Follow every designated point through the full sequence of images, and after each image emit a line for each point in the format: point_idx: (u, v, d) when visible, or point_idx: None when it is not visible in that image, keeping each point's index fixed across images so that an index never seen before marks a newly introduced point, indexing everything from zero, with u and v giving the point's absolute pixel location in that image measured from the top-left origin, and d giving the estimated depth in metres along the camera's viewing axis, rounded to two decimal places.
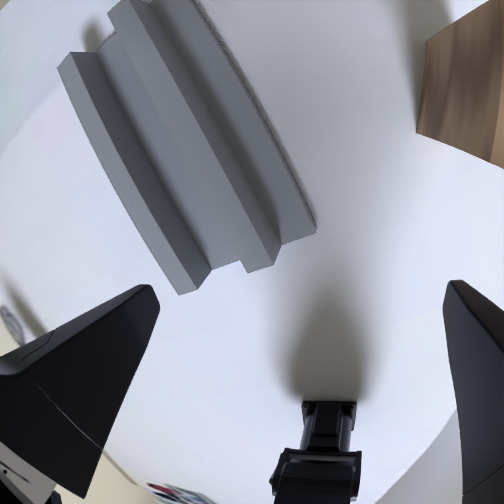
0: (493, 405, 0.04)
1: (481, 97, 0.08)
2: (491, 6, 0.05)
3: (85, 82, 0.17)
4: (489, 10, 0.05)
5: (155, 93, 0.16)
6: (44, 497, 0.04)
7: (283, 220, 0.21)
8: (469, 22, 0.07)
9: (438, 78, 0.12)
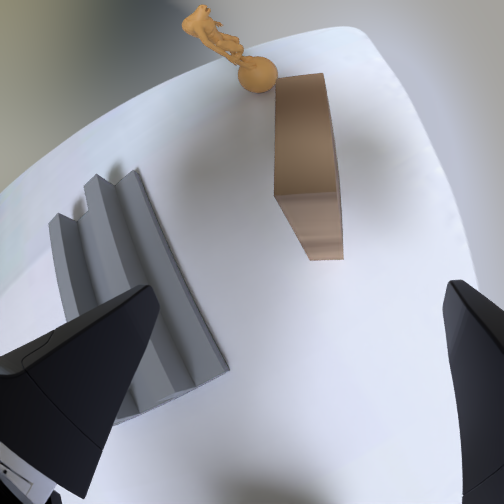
0: (493, 405, 0.04)
1: None
2: None
3: (63, 237, 0.26)
4: None
5: (101, 248, 0.24)
6: (44, 497, 0.04)
7: (195, 362, 0.22)
8: None
9: None
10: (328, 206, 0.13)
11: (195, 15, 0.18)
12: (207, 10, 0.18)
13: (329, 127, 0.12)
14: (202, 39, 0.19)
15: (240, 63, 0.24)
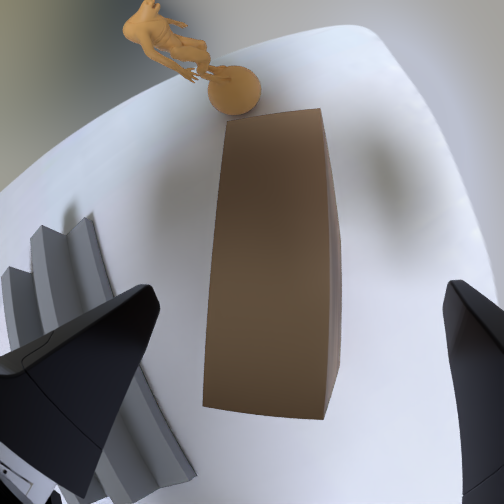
0: (493, 405, 0.04)
1: None
2: None
3: (13, 298, 0.20)
4: None
5: (45, 325, 0.17)
6: (44, 497, 0.04)
7: (157, 465, 0.15)
8: None
9: None
10: None
11: (138, 15, 0.12)
12: (155, 6, 0.12)
13: (327, 255, 0.06)
14: (144, 48, 0.13)
15: (207, 77, 0.17)
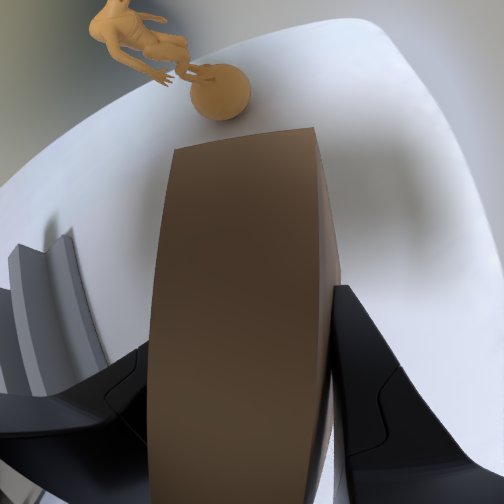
0: (337, 420, 0.05)
1: None
2: None
3: None
4: None
5: (23, 353, 0.15)
6: None
7: None
8: None
9: None
10: None
11: (105, 10, 0.09)
12: None
13: (311, 390, 0.03)
14: (109, 49, 0.10)
15: (188, 78, 0.15)
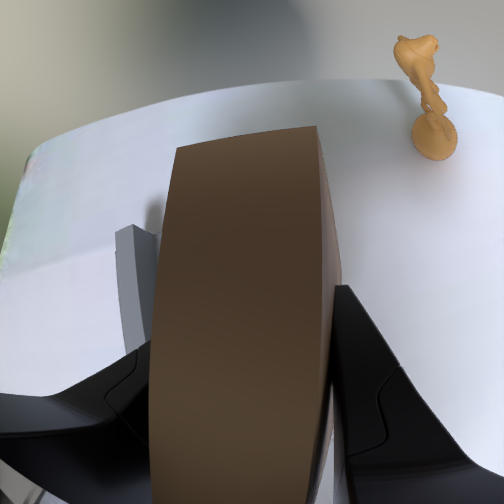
0: (337, 420, 0.05)
1: None
2: None
3: (137, 264, 0.22)
4: None
5: None
6: None
7: None
8: None
9: None
10: None
11: (421, 46, 0.11)
12: (435, 46, 0.11)
13: (314, 388, 0.03)
14: (426, 90, 0.12)
15: (431, 123, 0.17)
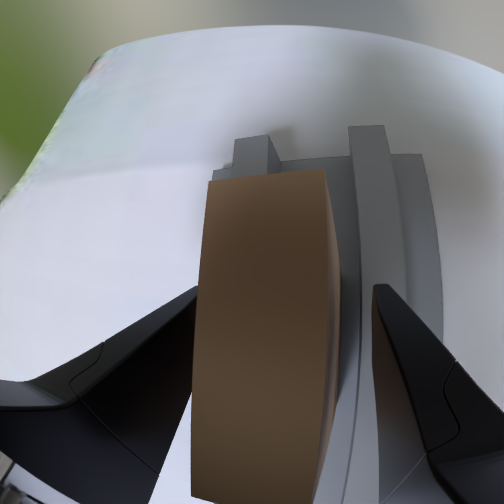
0: (393, 419, 0.04)
1: None
2: None
3: None
4: None
5: (371, 285, 0.12)
6: None
7: None
8: None
9: None
10: None
11: None
12: None
13: (322, 371, 0.05)
14: None
15: None
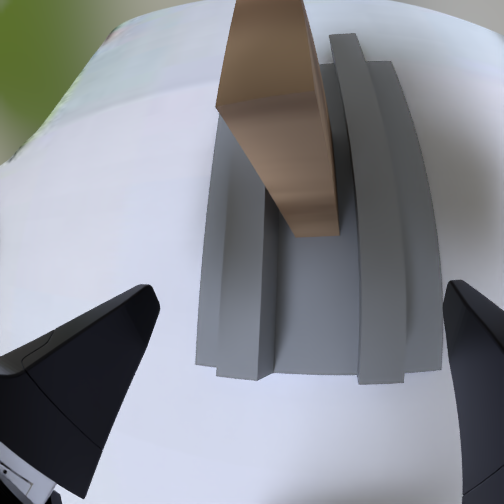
0: (493, 405, 0.04)
1: None
2: None
3: None
4: None
5: (353, 115, 0.15)
6: (44, 497, 0.04)
7: (411, 341, 0.14)
8: None
9: None
10: (306, 127, 0.08)
11: None
12: None
13: (303, 25, 0.07)
14: None
15: None
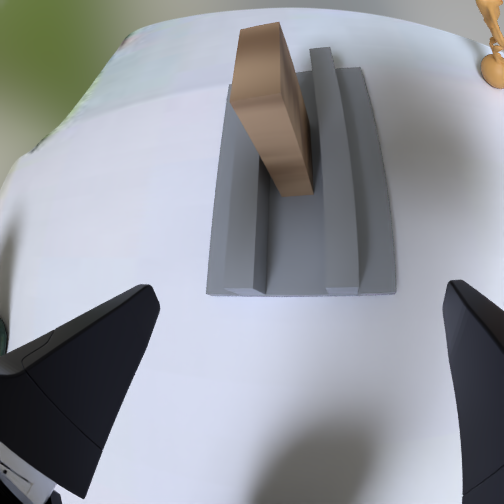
0: (493, 405, 0.04)
1: None
2: None
3: None
4: None
5: (322, 109, 0.21)
6: (44, 497, 0.04)
7: (370, 268, 0.20)
8: None
9: None
10: (278, 112, 0.14)
11: None
12: (500, 1, 0.11)
13: (279, 54, 0.13)
14: (493, 19, 0.12)
15: (495, 54, 0.16)
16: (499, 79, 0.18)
